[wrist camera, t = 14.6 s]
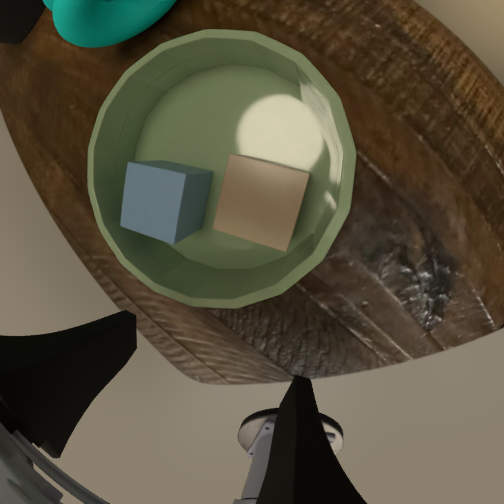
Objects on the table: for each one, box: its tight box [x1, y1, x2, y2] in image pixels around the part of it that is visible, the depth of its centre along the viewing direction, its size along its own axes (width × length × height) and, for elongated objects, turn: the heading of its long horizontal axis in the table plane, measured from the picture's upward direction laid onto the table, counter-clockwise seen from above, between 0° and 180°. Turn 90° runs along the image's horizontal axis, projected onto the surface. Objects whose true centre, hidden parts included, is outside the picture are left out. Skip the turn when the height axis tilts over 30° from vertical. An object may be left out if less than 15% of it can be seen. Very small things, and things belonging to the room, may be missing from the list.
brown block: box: [213, 153, 311, 252], centre depth 15 cm, size 4×4×4 cm
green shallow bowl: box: [88, 29, 356, 308], centre depth 15 cm, size 15×15×5 cm
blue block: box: [120, 160, 213, 245], centre depth 16 cm, size 4×4×4 cm
